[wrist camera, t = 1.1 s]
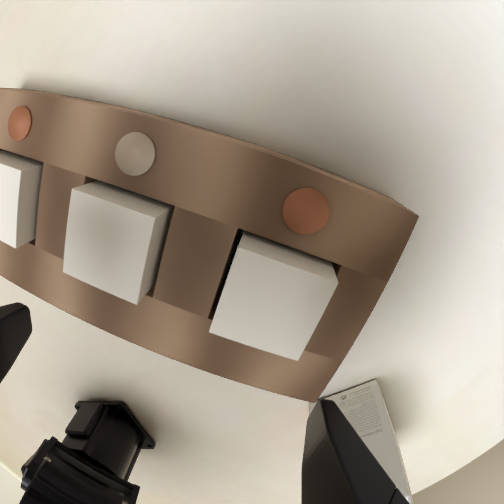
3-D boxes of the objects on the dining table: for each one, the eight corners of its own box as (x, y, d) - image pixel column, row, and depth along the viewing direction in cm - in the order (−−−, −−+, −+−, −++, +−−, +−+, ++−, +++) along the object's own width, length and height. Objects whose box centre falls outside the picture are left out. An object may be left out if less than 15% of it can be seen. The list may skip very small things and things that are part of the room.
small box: (307, 400, 23) (310, 522, 13) (377, 376, 21) (410, 496, 12) (337, 451, 25) (344, 549, 15) (395, 431, 24) (419, 529, 14)
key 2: (55, 163, 16) (21, 170, 13) (46, 232, 17) (15, 248, 14) (9, 149, 15) (-24, 155, 13) (3, 212, 17) (-27, 225, 14)
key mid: (177, 203, 16) (155, 218, 13) (158, 278, 17) (137, 304, 15) (103, 178, 16) (71, 188, 13) (91, 252, 17) (62, 272, 14)
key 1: (329, 257, 16) (338, 282, 13) (296, 327, 18) (297, 361, 15) (246, 226, 16) (237, 246, 13) (220, 301, 17) (208, 332, 15)
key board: (392, 199, 17) (420, 217, 13) (311, 362, 21) (314, 405, 17) (20, 88, 16) (-20, 87, 12) (2, 238, 21) (-33, 256, 17)
